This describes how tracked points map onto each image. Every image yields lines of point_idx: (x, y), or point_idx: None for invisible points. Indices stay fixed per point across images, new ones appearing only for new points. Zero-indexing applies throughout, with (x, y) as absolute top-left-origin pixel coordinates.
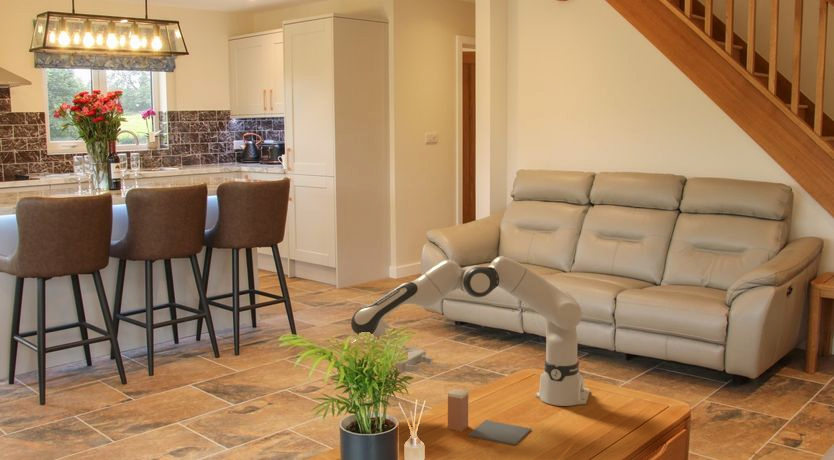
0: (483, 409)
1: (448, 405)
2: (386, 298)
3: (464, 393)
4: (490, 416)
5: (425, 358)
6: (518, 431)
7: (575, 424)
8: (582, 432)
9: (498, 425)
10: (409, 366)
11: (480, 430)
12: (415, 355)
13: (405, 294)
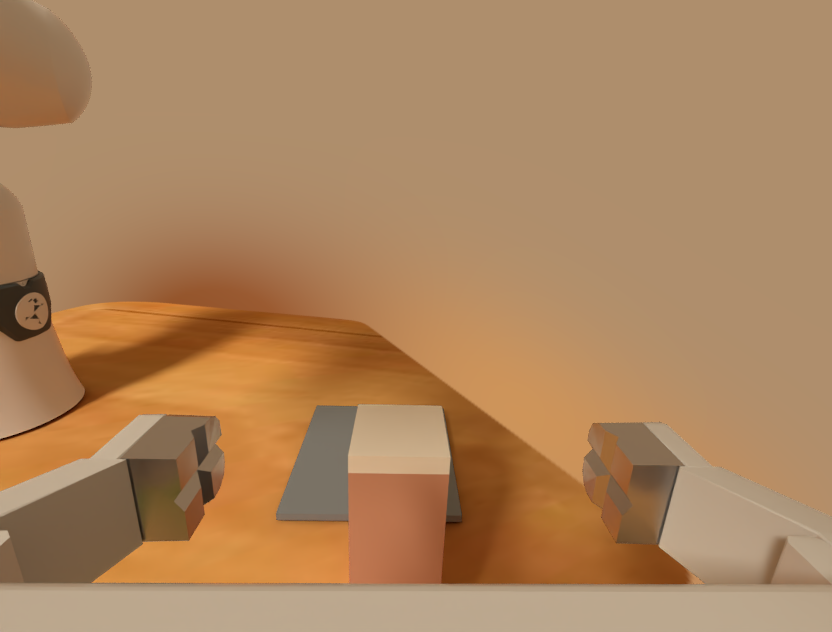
0: None
1: (445, 521)
2: None
3: (403, 406)
4: None
5: (67, 514)
6: (352, 419)
7: (239, 367)
8: (289, 356)
9: (323, 466)
10: (779, 505)
11: None
12: (92, 615)
13: None
